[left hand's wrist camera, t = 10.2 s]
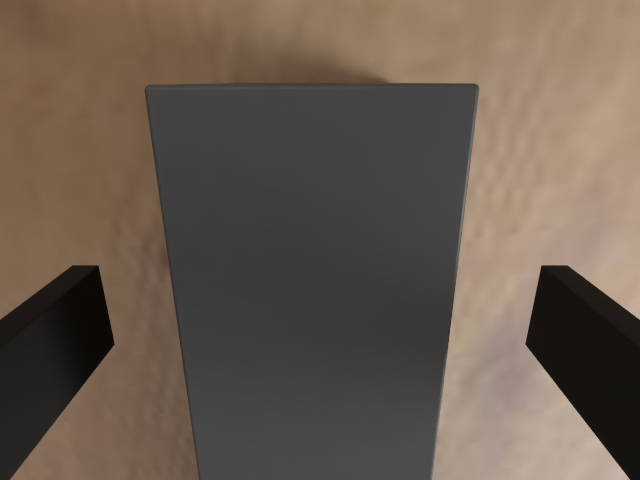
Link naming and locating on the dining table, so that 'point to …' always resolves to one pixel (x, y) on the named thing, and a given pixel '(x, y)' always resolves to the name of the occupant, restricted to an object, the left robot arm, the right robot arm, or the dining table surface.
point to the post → (313, 269)
